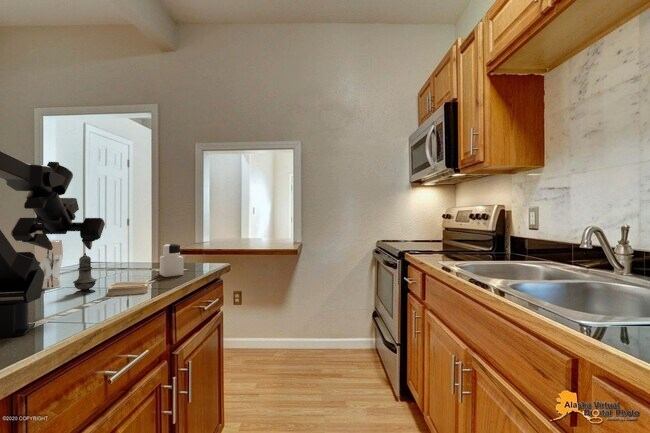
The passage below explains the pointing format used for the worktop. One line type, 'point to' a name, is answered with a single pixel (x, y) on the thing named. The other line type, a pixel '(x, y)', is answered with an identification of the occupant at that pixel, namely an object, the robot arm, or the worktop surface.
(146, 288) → the oak base
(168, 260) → the medicine bottle
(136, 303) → the worktop surface
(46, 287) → the beer glass
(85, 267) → the salt shaker
